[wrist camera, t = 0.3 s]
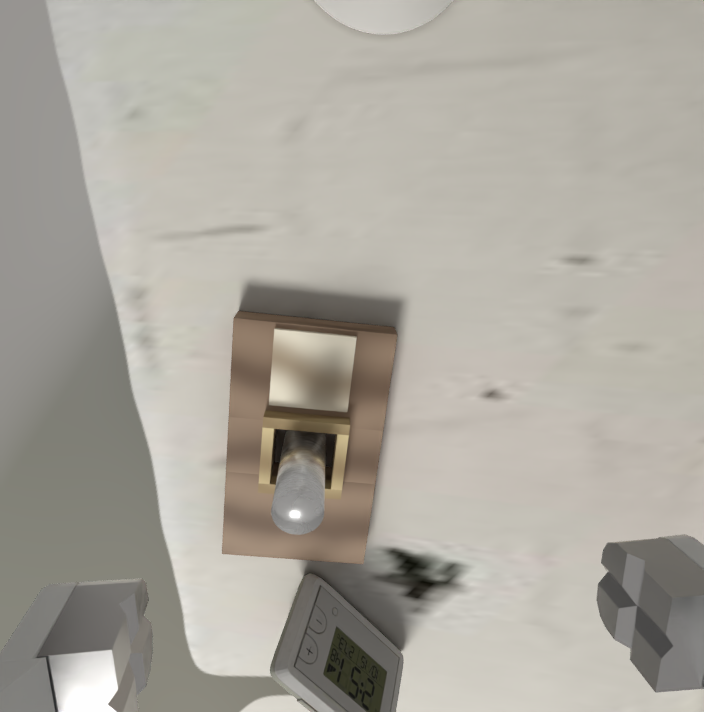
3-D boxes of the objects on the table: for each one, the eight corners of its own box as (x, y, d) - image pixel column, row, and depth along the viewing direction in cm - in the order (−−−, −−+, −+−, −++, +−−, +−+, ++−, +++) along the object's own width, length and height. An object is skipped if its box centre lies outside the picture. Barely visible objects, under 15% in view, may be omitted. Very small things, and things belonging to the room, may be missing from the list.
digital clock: (408, 656, 62) (422, 750, 51) (338, 686, 63) (339, 785, 53) (338, 553, 57) (340, 635, 47) (264, 588, 58) (250, 676, 48)
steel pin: (286, 418, 52) (273, 487, 40) (327, 422, 52) (326, 491, 40) (282, 455, 53) (269, 532, 41) (323, 458, 53) (321, 536, 42)
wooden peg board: (238, 310, 48) (230, 322, 44) (394, 327, 49) (399, 339, 45) (226, 537, 56) (218, 564, 52) (361, 547, 56) (364, 574, 53)
